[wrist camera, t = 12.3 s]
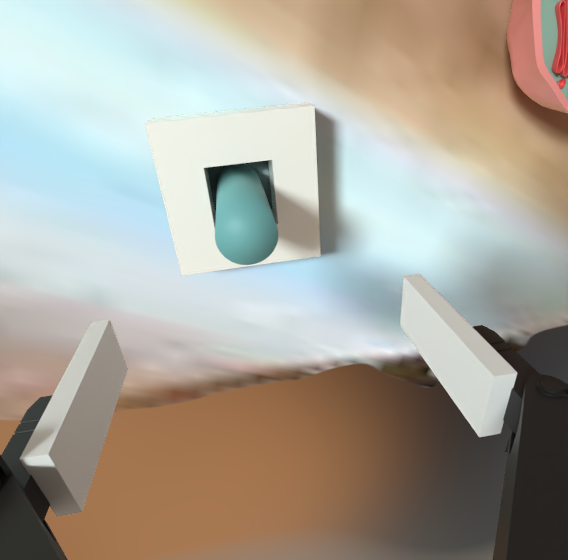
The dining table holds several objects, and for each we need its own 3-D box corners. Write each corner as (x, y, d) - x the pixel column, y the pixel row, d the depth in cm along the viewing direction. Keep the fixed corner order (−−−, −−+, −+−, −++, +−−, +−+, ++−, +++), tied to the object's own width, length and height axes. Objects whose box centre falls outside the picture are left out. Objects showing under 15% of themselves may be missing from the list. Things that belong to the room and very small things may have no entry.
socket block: (304, 102, 36) (314, 105, 32) (311, 239, 43) (320, 256, 39) (153, 117, 35) (144, 123, 31) (185, 256, 41) (181, 275, 38)
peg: (258, 160, 38) (275, 202, 26) (262, 203, 40) (280, 260, 28) (213, 165, 37) (209, 210, 25) (220, 208, 40) (220, 268, 27)
